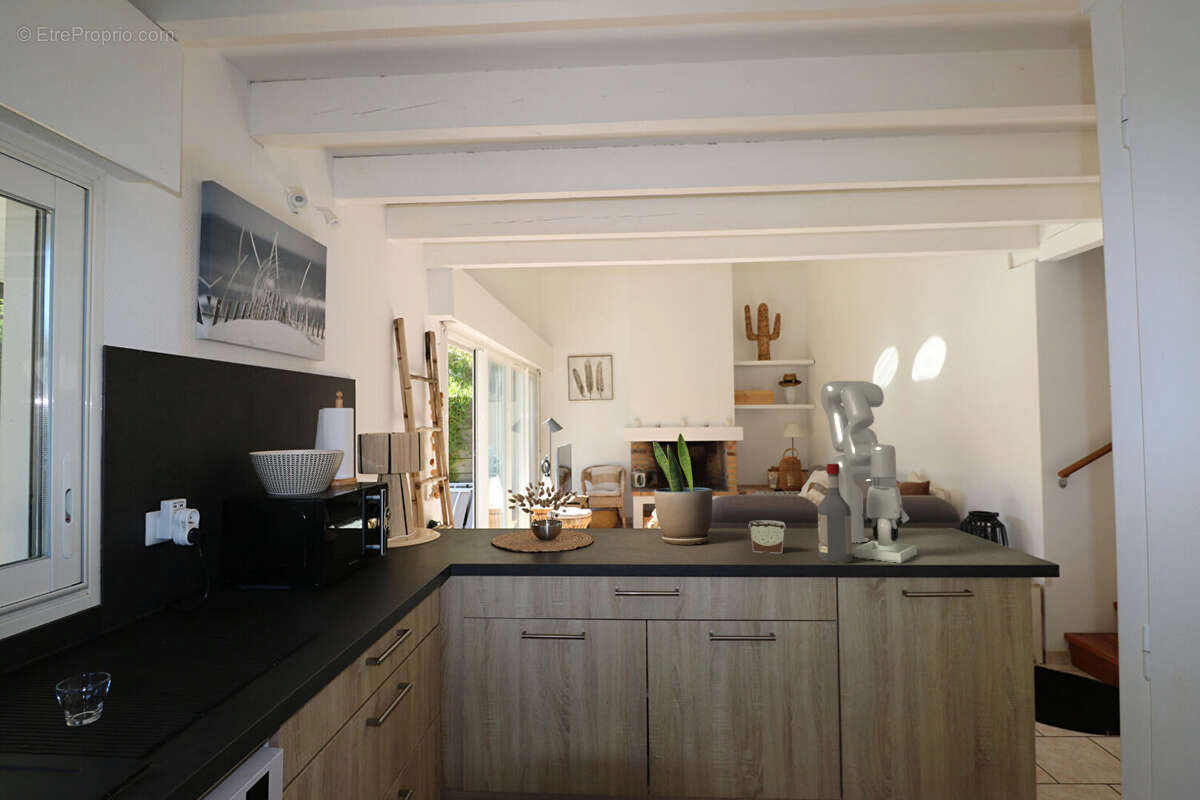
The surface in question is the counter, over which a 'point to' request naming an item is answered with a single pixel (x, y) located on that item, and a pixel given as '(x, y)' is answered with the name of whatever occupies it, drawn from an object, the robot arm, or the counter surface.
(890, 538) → the shaker
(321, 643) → the counter surface
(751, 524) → the food container
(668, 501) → the potted plant
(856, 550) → the tray
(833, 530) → the liquor
